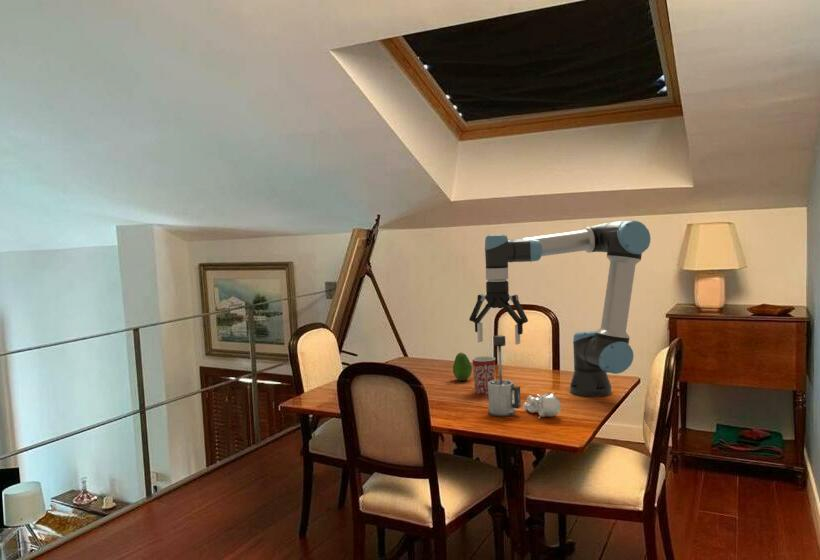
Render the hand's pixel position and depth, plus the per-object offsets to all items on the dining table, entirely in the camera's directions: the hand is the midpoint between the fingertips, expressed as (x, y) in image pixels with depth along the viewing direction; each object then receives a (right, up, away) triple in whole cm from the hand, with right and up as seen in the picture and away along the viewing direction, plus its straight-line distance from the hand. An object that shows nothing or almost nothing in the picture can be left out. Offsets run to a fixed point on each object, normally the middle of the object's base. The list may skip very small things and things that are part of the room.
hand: (498, 342), depth 209 cm
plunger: (+1, -15, +1) cm, 15 cm away
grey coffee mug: (+1, -24, +2) cm, 24 cm away
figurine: (+15, -24, -2) cm, 28 cm away
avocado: (-8, -21, +51) cm, 56 cm away
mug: (-1, -23, +32) cm, 39 cm away
